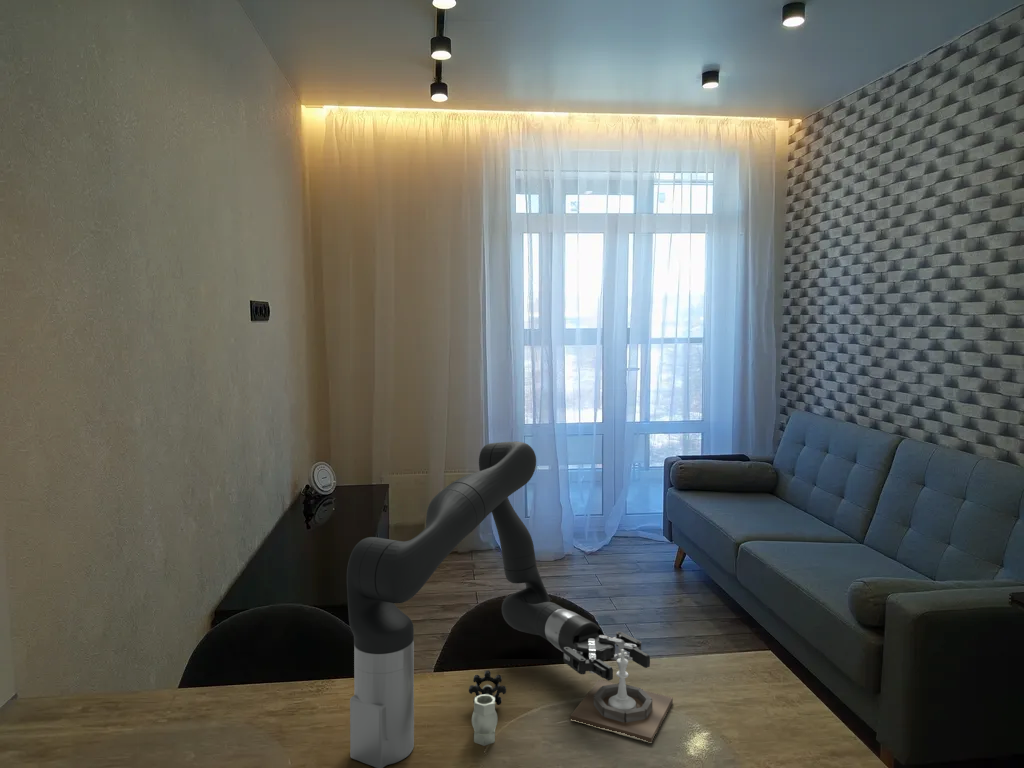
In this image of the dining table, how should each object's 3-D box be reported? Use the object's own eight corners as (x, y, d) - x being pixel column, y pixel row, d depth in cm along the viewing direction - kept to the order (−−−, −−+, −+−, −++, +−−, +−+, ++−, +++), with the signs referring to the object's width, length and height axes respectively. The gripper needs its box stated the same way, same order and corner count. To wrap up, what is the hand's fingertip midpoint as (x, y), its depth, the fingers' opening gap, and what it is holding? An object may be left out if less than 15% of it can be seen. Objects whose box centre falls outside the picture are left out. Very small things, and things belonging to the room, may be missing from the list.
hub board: (651, 744, 102) (651, 728, 102) (570, 721, 109) (570, 706, 109) (672, 703, 114) (672, 689, 114) (598, 684, 121) (598, 671, 121)
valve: (504, 747, 101) (506, 706, 113) (504, 706, 101) (506, 670, 113) (463, 746, 101) (469, 706, 113) (463, 706, 101) (469, 669, 113)
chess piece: (602, 702, 113) (602, 646, 112) (625, 696, 115) (626, 641, 114) (618, 716, 108) (618, 658, 108) (642, 709, 110) (642, 652, 110)
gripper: (542, 623, 119) (598, 657, 106) (601, 607, 127) (660, 637, 113) (542, 662, 120) (598, 701, 106) (601, 644, 127) (660, 679, 114)
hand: (630, 668), depth 110 cm, fingers open, 8 cm apart
